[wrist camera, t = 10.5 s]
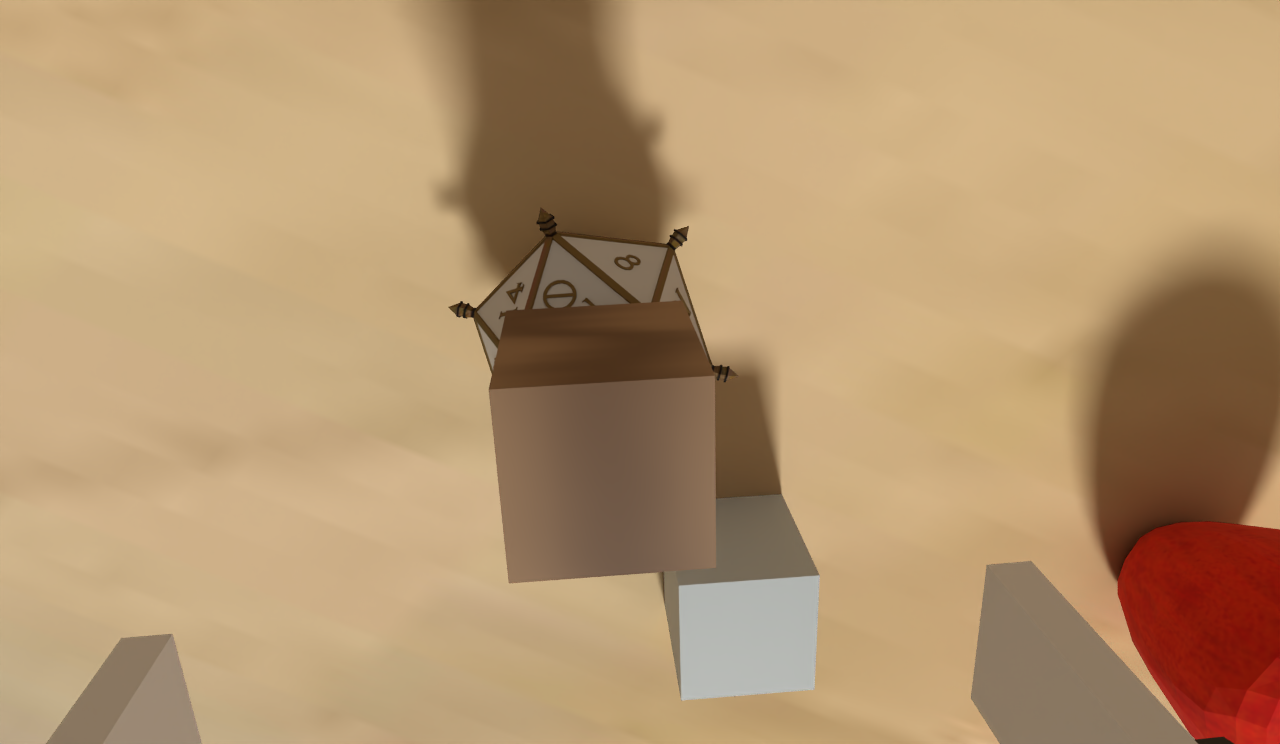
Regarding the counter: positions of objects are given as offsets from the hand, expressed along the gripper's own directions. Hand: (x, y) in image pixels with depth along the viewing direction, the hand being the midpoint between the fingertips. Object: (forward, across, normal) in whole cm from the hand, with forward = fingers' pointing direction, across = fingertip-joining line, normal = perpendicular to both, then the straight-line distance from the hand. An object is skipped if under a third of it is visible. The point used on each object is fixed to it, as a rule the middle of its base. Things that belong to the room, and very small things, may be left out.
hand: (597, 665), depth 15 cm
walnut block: (+12, +1, 0) cm, 12 cm away
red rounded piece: (+20, +26, -13) cm, 35 cm away
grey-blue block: (+20, +6, -11) cm, 24 cm away
